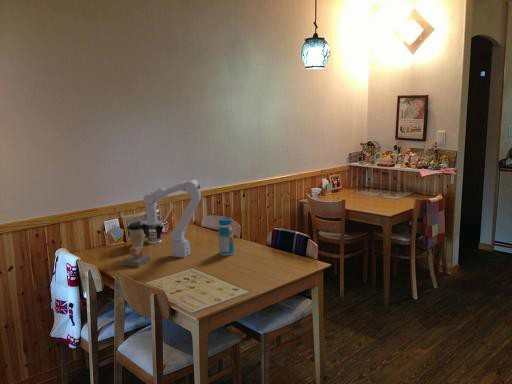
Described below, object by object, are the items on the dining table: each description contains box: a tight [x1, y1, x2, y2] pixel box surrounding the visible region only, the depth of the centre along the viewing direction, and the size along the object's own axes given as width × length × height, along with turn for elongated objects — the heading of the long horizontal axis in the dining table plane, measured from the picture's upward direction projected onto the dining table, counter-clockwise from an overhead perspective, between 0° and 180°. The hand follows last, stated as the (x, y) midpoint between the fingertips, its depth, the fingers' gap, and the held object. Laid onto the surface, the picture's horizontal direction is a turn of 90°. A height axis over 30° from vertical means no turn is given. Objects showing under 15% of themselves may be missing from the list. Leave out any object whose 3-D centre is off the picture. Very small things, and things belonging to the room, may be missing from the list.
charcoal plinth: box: [122, 254, 151, 267], centre depth 251 cm, size 10×10×3 cm
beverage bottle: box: [218, 217, 235, 256], centre depth 260 cm, size 8×8×20 cm
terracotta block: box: [129, 246, 143, 260], centre depth 250 cm, size 4×4×6 cm
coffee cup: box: [127, 222, 145, 249], centre depth 274 cm, size 9×9×15 cm
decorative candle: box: [144, 202, 163, 244], centre depth 287 cm, size 9×9×25 cm
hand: (153, 237), depth 262 cm, fingers open, 7 cm apart
